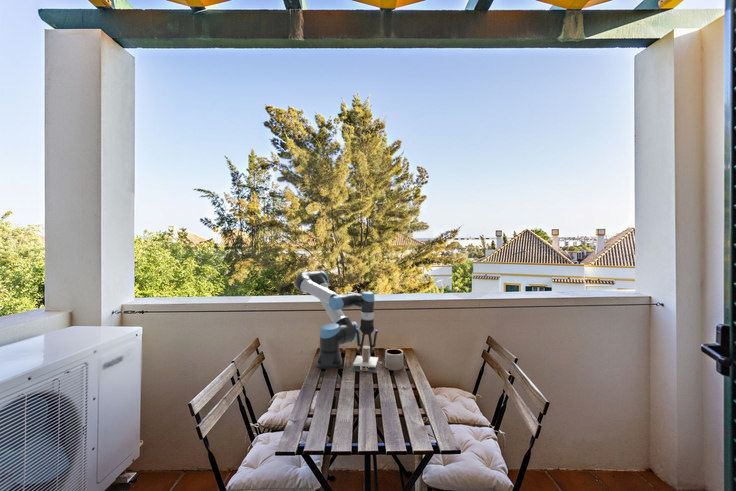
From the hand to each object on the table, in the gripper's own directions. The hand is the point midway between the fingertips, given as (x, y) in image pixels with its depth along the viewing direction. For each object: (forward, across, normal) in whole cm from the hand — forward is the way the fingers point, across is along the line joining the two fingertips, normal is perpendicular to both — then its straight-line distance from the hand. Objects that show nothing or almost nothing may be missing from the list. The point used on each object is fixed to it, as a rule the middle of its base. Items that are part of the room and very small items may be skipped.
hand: (366, 357), depth 217 cm
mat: (+5, 0, 0) cm, 5 cm away
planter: (+5, +16, +2) cm, 17 cm away
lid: (+3, 0, 0) cm, 3 cm away
